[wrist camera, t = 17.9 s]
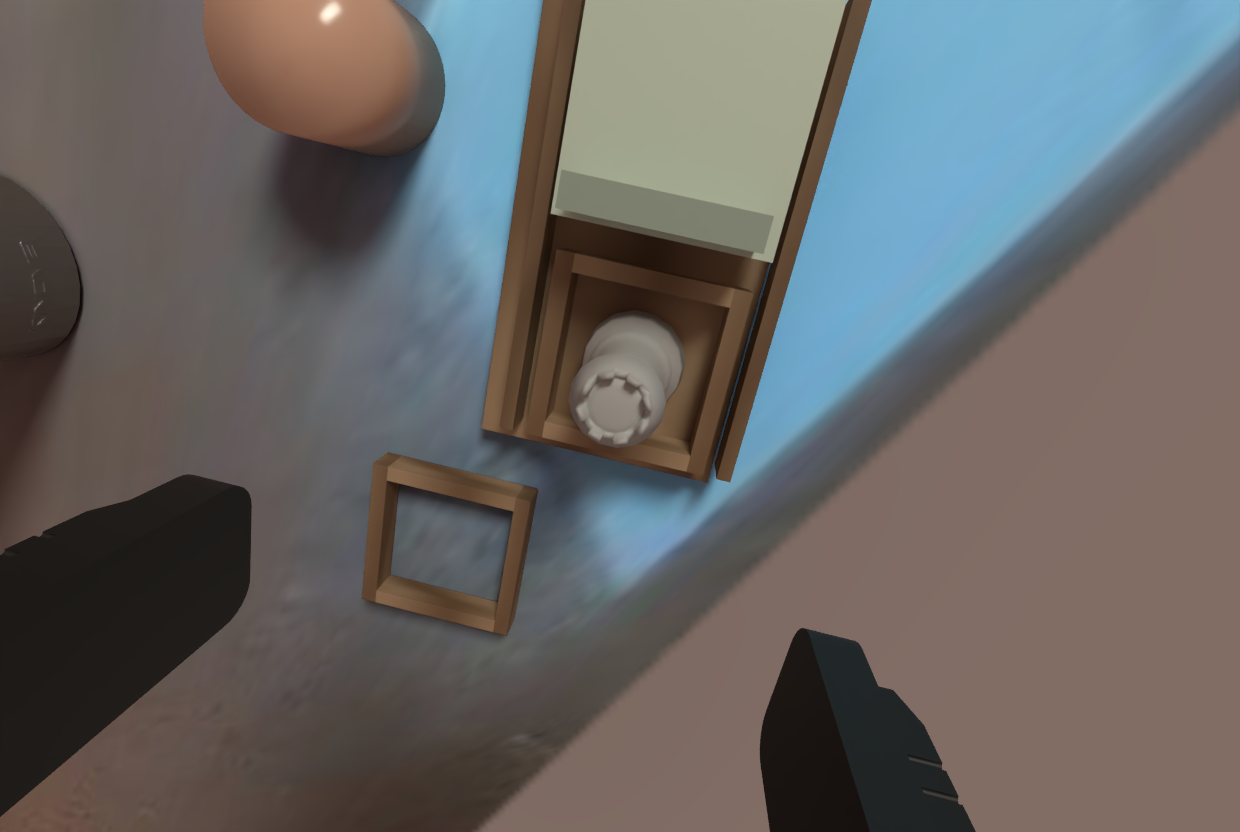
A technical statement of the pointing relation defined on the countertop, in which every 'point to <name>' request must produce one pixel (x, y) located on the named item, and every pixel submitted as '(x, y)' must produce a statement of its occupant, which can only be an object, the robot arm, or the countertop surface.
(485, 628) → the wooden square frame
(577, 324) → the shallow wooden box
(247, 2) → the tan rounded block
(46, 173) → the countertop surface
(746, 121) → the cover
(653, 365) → the rook chess piece
